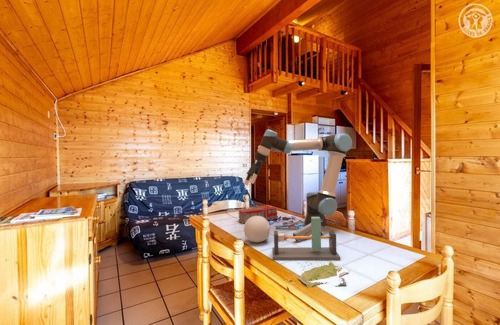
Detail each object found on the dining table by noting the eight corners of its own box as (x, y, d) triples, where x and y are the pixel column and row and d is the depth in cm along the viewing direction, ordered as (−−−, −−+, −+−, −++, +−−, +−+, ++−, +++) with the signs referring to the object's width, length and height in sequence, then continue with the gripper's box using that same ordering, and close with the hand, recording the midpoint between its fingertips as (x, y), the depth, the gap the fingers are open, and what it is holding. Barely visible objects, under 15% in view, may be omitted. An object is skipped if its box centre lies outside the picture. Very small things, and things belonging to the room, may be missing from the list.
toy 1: (278, 220, 189) (278, 207, 189) (242, 224, 179) (241, 211, 179) (272, 216, 199) (272, 204, 198) (238, 221, 189) (237, 208, 188)
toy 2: (275, 242, 141) (274, 216, 140) (252, 248, 134) (251, 221, 133) (261, 235, 154) (261, 211, 153) (240, 240, 147) (239, 215, 146)
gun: (327, 232, 152) (324, 217, 151) (298, 250, 140) (294, 234, 138) (324, 231, 154) (321, 216, 153) (295, 248, 142) (291, 233, 141)
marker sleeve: (319, 247, 123) (319, 216, 123) (321, 250, 120) (320, 218, 120) (311, 247, 124) (311, 216, 123) (312, 250, 121) (312, 218, 120)
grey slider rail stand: (333, 250, 127) (333, 228, 127) (340, 260, 115) (340, 236, 115) (272, 250, 130) (271, 229, 129) (272, 260, 118) (272, 236, 118)
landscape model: (323, 301, 87) (324, 295, 86) (294, 279, 99) (295, 274, 99) (363, 281, 100) (363, 275, 100) (333, 264, 112) (333, 259, 112)
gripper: (261, 151, 166) (249, 180, 168) (251, 150, 142) (237, 182, 144) (271, 156, 164) (258, 184, 166) (263, 155, 140) (248, 188, 142)
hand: (248, 183), depth 155 cm, fingers open, 13 cm apart
